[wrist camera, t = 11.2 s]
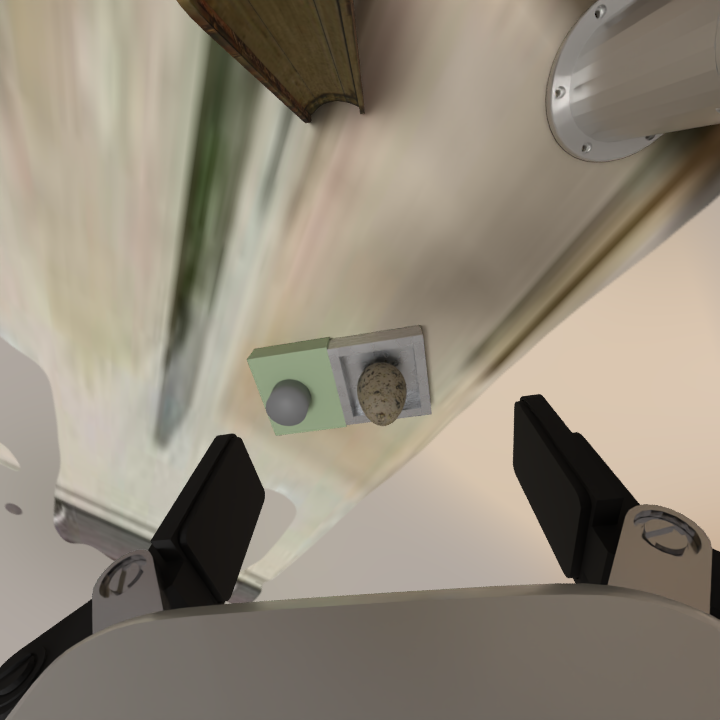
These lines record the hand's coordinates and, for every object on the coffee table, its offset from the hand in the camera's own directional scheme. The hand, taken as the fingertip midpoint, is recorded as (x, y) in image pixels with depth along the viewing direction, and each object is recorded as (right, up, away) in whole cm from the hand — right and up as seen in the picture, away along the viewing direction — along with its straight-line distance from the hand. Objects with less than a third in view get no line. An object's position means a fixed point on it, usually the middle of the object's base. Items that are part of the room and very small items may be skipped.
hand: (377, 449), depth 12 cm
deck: (-8, 0, +35) cm, 36 cm away
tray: (+2, +2, +33) cm, 33 cm away
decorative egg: (+2, +1, +33) cm, 33 cm away
